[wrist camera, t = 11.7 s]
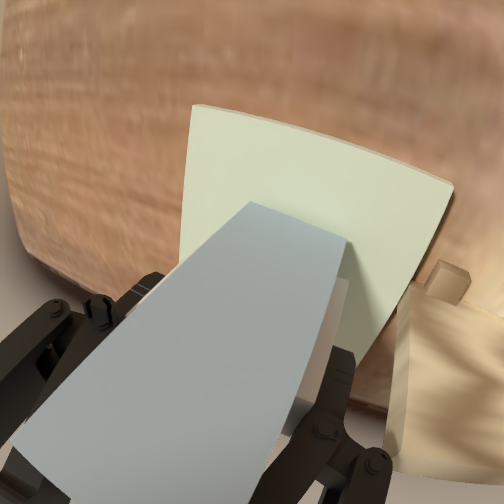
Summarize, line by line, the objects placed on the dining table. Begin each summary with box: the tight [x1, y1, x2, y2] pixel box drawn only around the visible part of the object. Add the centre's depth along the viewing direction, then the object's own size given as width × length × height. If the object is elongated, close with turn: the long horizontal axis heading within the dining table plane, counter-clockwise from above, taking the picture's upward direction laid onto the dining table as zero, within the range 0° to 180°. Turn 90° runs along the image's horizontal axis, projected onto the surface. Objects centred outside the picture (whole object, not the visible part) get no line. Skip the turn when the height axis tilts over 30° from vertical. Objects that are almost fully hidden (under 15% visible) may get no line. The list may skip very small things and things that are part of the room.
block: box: [10, 201, 347, 504], centre depth 11 cm, size 5×5×14 cm
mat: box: [179, 104, 454, 369], centre depth 17 cm, size 13×13×1 cm
